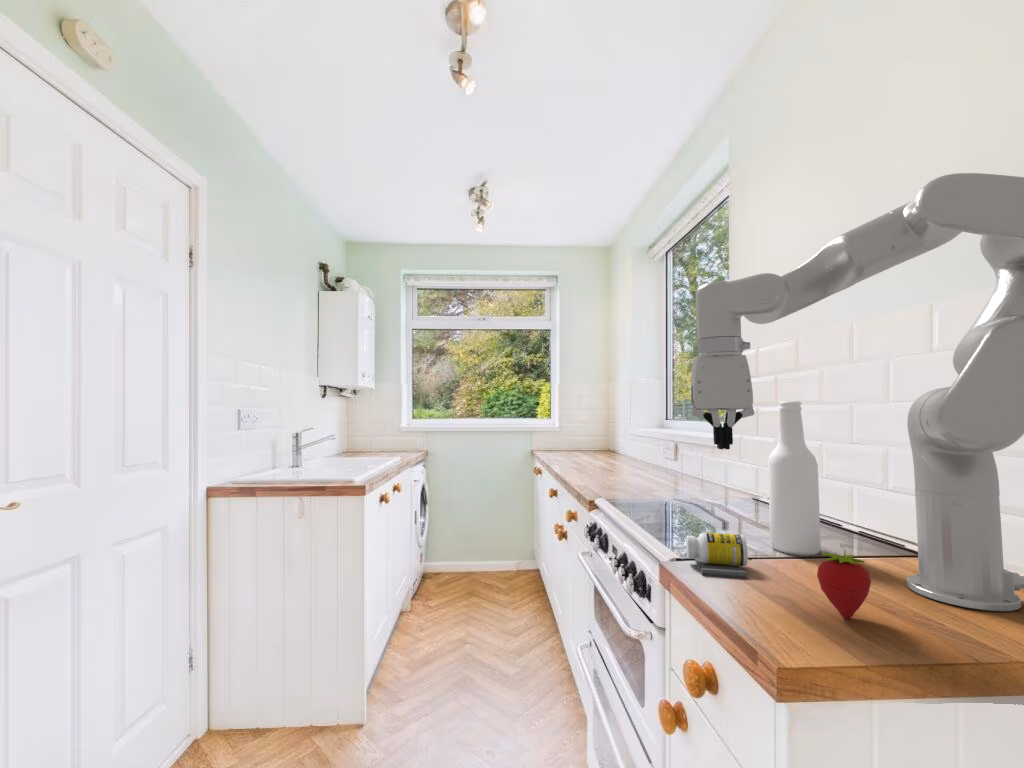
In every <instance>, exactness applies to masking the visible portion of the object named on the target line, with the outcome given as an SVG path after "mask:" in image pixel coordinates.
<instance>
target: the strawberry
mask: <svg viewBox="0 0 1024 768" xmlns="http://www.w3.org/2000/svg"><path fill="white" fill-rule="evenodd" d="M846 551H847V550H844V553H843V556H842V555H838V554H837V553H831V552H825V551H824V552H823V551H820V553H821V554H822V555H825V556H828V557H829V558H827V559H825V560H823V561H822V562H821V563H820V564H819V566H818V567H817V571H816V572H817V573H816V575H817V580H818V583H819V585H820V588H821V591H822V593H824V595H825V597H826V598H827V599H828V600H829V602H830V604H832V605H833V607H834V608H835V609H836V610H837V611H838V613H839V615H840V616H841V617H843V618H844V619H847V620H848V619H851V618H852V617H853V616H854V614H855V613H856V612H857V611H858V610H859V609H860V608H861V606H862V604H863V603H864V602H865V600H866V599H867V597H868V596H869V593H870V590H871V589H870V588H871V584H872V581H871V580H872V579H871V575H870V573H869V571H868V570H867V569H866V567H864V566H863V565H862V564H865V562H866V561H865V560H863V559H857V558H854V557H855V556H856V555H855V554H846V553H847V552H846Z"/></svg>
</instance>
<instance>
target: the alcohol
mask: <svg viewBox="0 0 1024 768" xmlns="http://www.w3.org/2000/svg"><path fill="white" fill-rule="evenodd" d="M778 405H779V407H778V410H779V423H778V442H777V445H776V447H775V448H774V449H773V450H772V451H771V453H770V454H769V456H768V460H767V473H768V474H767V476H768V480H767V481H768V504H769V505H768V506H769V507H768V508H769V509H768V510H769V513H768V514H769V538H770V545H771V546H772V548H773V549H774V550H775V551H777V552H780V553H783V552H784V554H788V555H794V556H795V555H796V556H803V555H804V556H806V557H807V556H810V555H811V556H816V555H818V554H819V553H820V552H821V549H822V543H821V540H822V539H821V515H820V491H819V486H820V485H819V467H818V466H819V465H818V462H817V458H816V456H815V454H813V453H812V452H811V451H810V450H809V448H808V446H807V445H806V440H805V434H804V426H803V418H802V407H801V405H802V402H801V401H799V400H798V401H792V400H791V401H790V400H789V401H786V400H785V401H780V402H778Z"/></svg>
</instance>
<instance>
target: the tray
mask: <svg viewBox="0 0 1024 768" xmlns="http://www.w3.org/2000/svg"><path fill="white" fill-rule="evenodd" d="M694 561H695V564H696V565H697V568H698V567H699V568H698V569H699V571H700V574H701V575H702V576H708V577H709V576H710V577H721V578H735V579H736V578H738V579H747V576H748V575H747V573H748V572H747V571H746V570H743V569H742V568H741V566H731V565H718V564H705V563H703V562H701V560H700V558H696V559H694Z"/></svg>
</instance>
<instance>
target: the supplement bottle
mask: <svg viewBox="0 0 1024 768" xmlns="http://www.w3.org/2000/svg"><path fill="white" fill-rule="evenodd" d="M685 541H686V542H685V543H686V544H685V545H686V547H685V548H686V556H687V559H694V560H695V559H696V558H700V560H701V562H703V563H705V564H718V565H731V566H739V567H746V566H747V564H748V560H749V559H748V557H749V556H748V553H749V552H748V545H747V541H746V538H745V536H744V535H743V534H738V533H737V534H734V533H733V534H732V533H716V532H701V533H700V534H699V535H698V537H696V536H695V535H686V539H685Z"/></svg>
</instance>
